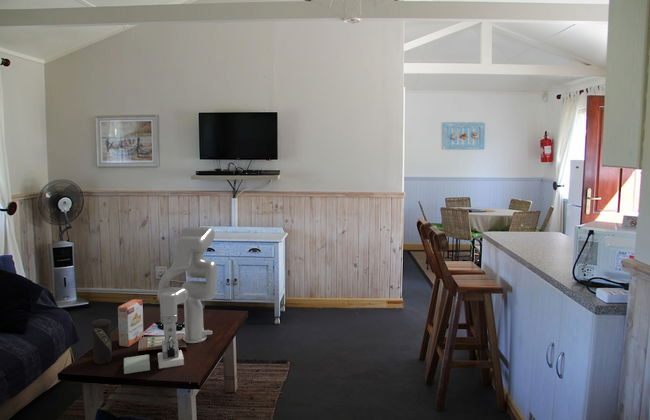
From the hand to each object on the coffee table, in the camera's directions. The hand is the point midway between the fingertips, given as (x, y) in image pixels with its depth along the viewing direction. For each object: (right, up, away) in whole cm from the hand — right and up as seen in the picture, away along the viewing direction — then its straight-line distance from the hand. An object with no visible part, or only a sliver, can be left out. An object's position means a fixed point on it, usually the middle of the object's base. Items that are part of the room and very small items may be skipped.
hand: (170, 352), depth 236 cm
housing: (0, -2, 0) cm, 2 cm away
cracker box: (-28, -1, +25) cm, 37 cm away
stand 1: (-14, -5, -5) cm, 16 cm away
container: (-33, -4, +2) cm, 33 cm away
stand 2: (0, -5, +1) cm, 4 cm away
